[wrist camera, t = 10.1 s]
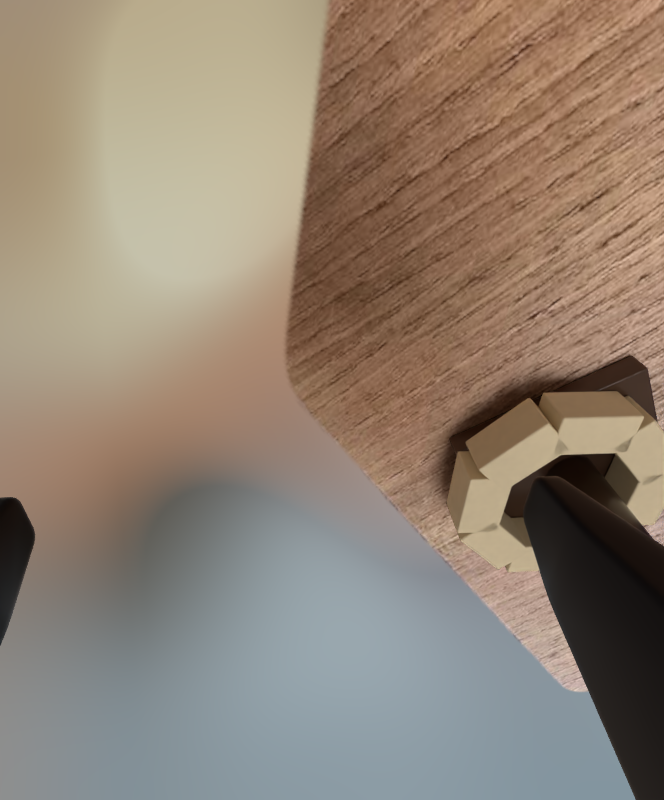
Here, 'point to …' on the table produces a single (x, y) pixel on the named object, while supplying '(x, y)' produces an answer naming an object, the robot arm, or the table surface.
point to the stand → (583, 467)
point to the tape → (540, 444)
